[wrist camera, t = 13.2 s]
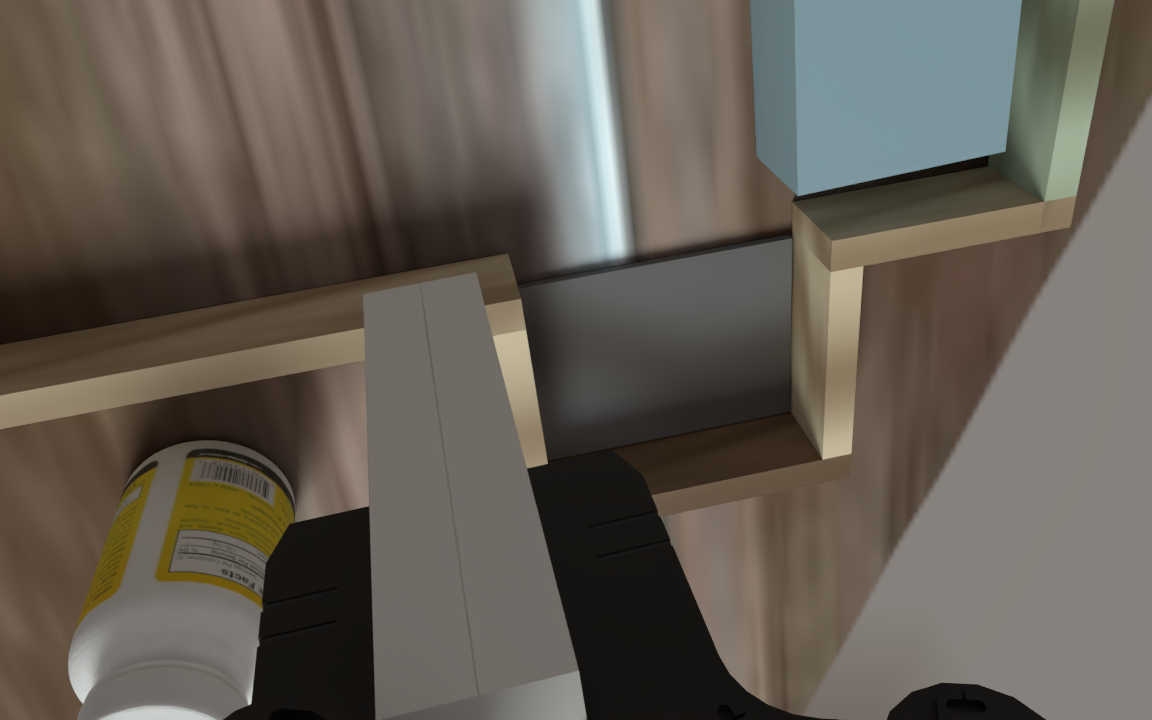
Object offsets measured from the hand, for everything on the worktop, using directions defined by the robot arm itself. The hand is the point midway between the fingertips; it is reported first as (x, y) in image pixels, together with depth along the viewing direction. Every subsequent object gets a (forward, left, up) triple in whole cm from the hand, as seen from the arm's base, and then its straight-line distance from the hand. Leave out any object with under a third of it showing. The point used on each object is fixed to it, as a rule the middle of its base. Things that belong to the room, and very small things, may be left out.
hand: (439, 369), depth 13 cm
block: (+1, +13, -15) cm, 19 cm away
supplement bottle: (+12, -9, -15) cm, 21 cm away
